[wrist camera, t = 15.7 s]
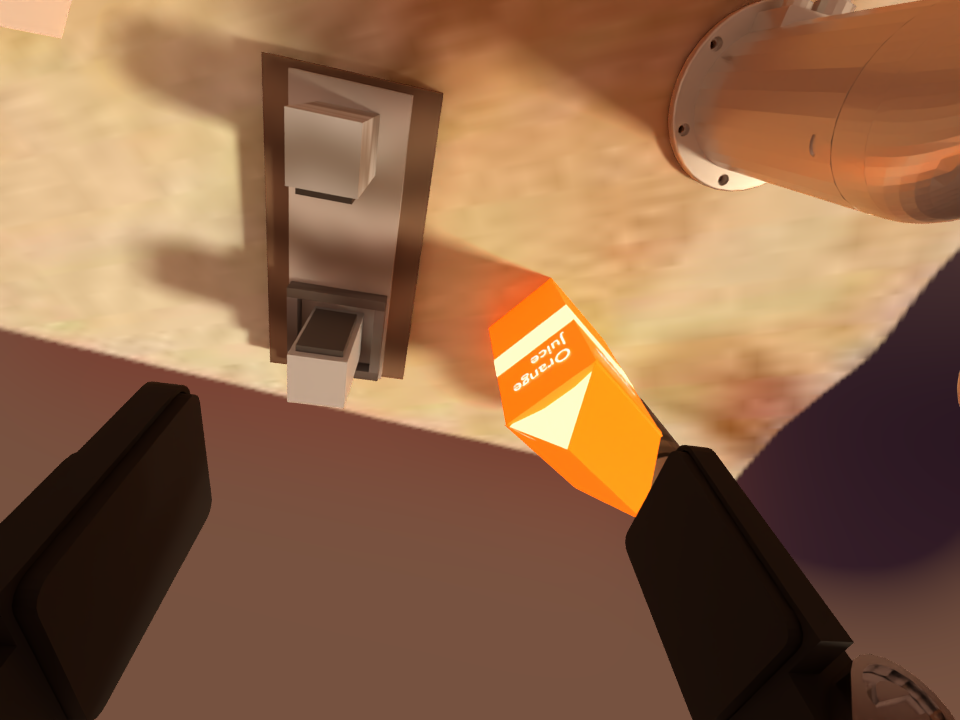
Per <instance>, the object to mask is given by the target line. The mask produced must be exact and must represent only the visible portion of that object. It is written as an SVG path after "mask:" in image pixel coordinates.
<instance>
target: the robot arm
mask: <svg viewBox="0 0 960 720" xmlns="http://www.w3.org/2000/svg"><path fill="white" fill-rule="evenodd" d="M852 1H853V0H817V1H815V2H814V4H813V2H812V1H810V0H762V1H759V2H756V3H752V4H749V5H747V6H745V7H743V8H741V9H739V10H737V11H735V12H733V13H731V14H729V15H728V16H727V17H725V18H724V19H723V20H721V21H720V22H719V23H717V24H716V25H715V26H714V27H713V28H712V29H711V30H710V31H709V32H708V33H707V34H706V35H705V36H704V37H703V38H702V39H701V40H700V41H699V43H698V44H697V45H696V47H695V48H694V50H693V51H692V52H691V54H690V55H689V56H688V58H687V60H686V62H685V64H684V66H683V68H682V70H681V71H680V73H679V75H678V78H677V81H676V84H675V87H674V89H673V92H672V97H671V102H670V107H669V119H668V130H669V137H670V143H671V147H672V149H673V152H674V155H675V157H676V159H677V161H678V162H679V164H680V165H681V167H682V169H683V170H684V171H685V172H686V173H687V174H688V175H689V176H690V177H691V178H693V179H694V180H696V181H698V182H699V183H701V184H703V185H705V186H708V187H711V188H714V189H717V190H724V191H743V190H747V189H751V188H755V187H759V186H761V185H763V184H765V183H771V184H774V185H777V186H780V187H783V188H787V189H790V190H793V191H796V192H799V193H803V194H806V195H809V196H812V197H816V198H819V199H822V200H825V201H828V202H832V203H835V204H838V205H841V206H844V207H848V208H851V209H854V210H857V211H861V212H864V213H867V214H870V215H874V216H877V217H881V218H884V219H888V220H892V221H897V222H903V223H915V224H929V223H940V222H949V221H954V220H959V219H960V0H920V1H914V2H908V3H903V4H897V5H891V6H885V7H879V8H873V9H867V10H862V11H856V12H854V10H855V8H856V6H855V5H854V4H852ZM711 41H713V47H712V48H710V44H711ZM680 126H681V127H682V129H681V131H680V132H678V129H679V127H680ZM720 176H721V177H720ZM719 177H720V180H718V179H719ZM957 391H958V402H959V405H960V373H959V378H958V386H957ZM208 473H209V472H208V464H207V456H206V448H205V440H204V432H203V424H202V416H201V408H200V401H199V398H198V396H196V395H192V394H190V391H189V389H188V388H187V387H186V386H184V385H177V384H168V383H160V382H147V383H146V384H145V385H143V386H142V387H141V388H140V389H139V390H138V391H137V392H136V393H135V394H134V395H133V396H132V397H131V398H130V399H129V400H128V401H127V402H126V403H125V404H124V405H123V406H122V407H121V408H120V409H119V410H118V411H117V412H116V413H115V415H114V416H113V417H112V418H110V419H109V421H108V422H107V423H106V424H105V425H104V426H103V427H102V428H101V429H100V430H99V431H98V432H97V433H96V434H95V435H94V436H93V437H92V438H91V439H90V440H89V441H88V442H87V443H86V444H85V445H84V446H83V447H82V448H81V449H80V450H79V451H78V452H76V453H74V454H72V455H70V456H69V457H68V458H66V459H65V460H64V461H63V462H62V463H61V464H60V465H59V466H58V467H57V468H56V469H55V470H54V471H53V472H52V473H51V474H50V475H49V476H48V477H47V478H46V479H45V480H44V481H43V482H42V483H41V484H40V485H39V486H38V487H37V488H36V489H35V490H34V491H33V492H32V493H31V494H30V495H29V496H28V497H27V498H26V499H25V500H24V501H23V502H22V503H21V504H20V505H19V506H18V507H17V508H16V509H15V510H14V511H13V512H12V513H11V514H10V515H9V516H8V517H7V518H6V519H5V520H3V521H2V522H1V523H0V720H94V719H96V718H97V716H98V715H99V714H100V713H101V712H102V710H103V708H104V707H105V705H106V703H107V702H108V700H109V698H110V696H111V694H112V692H113V690H114V689H115V687H116V685H117V683H118V681H119V680H120V678H121V676H122V674H123V672H124V670H125V668H126V667H127V665H128V663H129V661H130V659H131V657H132V656H133V654H134V652H135V650H136V648H137V646H138V645H139V643H140V641H141V639H142V637H143V635H144V633H145V632H146V630H147V628H148V626H149V624H150V622H151V621H152V619H153V617H154V615H155V613H156V611H157V610H158V608H159V606H160V604H161V602H162V600H163V598H164V597H165V595H166V593H167V591H168V589H169V587H170V586H171V584H172V582H173V580H174V578H175V576H176V574H177V573H178V571H179V569H180V567H181V565H182V563H183V562H184V560H185V558H186V556H187V554H188V552H189V551H190V549H191V547H192V545H193V543H194V541H195V539H196V538H197V536H198V534H199V532H200V530H201V528H202V527H203V525H204V523H205V521H206V519H207V517H208V515H209V512H210V508H211V502H212V498H211V489H210V481H209V474H208ZM625 544H626V550H627V553H628V555H629V558H630V561H631V563H632V566H633V568H634V571H635V573H636V576H637V578H638V581H639V584H640V586H641V589H642V591H643V594H644V597H645V599H646V602H647V604H648V607H649V609H650V612H651V615H652V617H653V620H654V622H655V625H656V627H657V630H658V633H659V635H660V638H661V640H662V643H663V645H664V648H665V651H666V653H667V655H668V658H669V661H670V663H671V666H672V668H673V671H674V674H675V676H676V679H677V681H678V684H679V686H680V689H681V692H682V694H683V697H684V699H685V702H686V704H687V707H688V710H689V712H690V714H691V717H692V719H693V720H955V719H954V717H953V715H952V714H951V712H950V711H949V709H948V708H947V707H946V706H945V705H944V704H943V702H941V700H940V699H939V698H938V697H937V695H936V694H935V693H934V692H932V690H930V689H929V688H928V687H927V686H926V685H925V684H924V683H923V682H922V681H921V680H920V679H918V678H917V677H916V676H914V675H913V674H911V673H910V672H909V671H907V670H906V669H904V668H903V667H902V666H900V665H898V664H896V663H894V662H892V661H890V660H888V659H886V658H883V657H880V656H876V655H872V654H865V655H859V656H858V657H857V658H855V659H854V660H853V661H852V660H851V659H850V658H849V656H848V655H847V653H846V652H845V650H846V649H847V648H848V647H849V646H850V645H851V644H853V641H852V639H851V638H850V637H849V635H848V634H847V632H846V631H845V630H844V628H843V627H842V626H841V625H840V623H839V622H838V620H837V619H836V617H835V616H834V615H833V613H832V612H831V611H830V609H829V608H828V606H827V605H826V604H825V603H824V601H823V600H822V598H821V597H820V596H819V594H818V593H817V591H816V590H815V589H814V587H813V586H812V585H811V583H810V582H809V580H808V579H807V578H806V576H805V575H804V574H803V572H802V571H801V570H800V568H799V567H798V565H797V564H796V563H795V561H794V560H793V559H792V557H791V556H790V554H789V553H788V552H787V550H786V549H785V548H784V546H783V545H782V544H781V542H780V541H779V539H778V538H777V537H776V535H775V534H774V533H773V531H772V530H771V529H770V527H769V526H768V524H767V523H766V522H765V520H764V519H763V518H762V516H761V515H760V513H759V512H758V511H757V509H756V508H755V507H754V505H753V504H752V503H751V501H750V500H749V498H748V497H747V496H746V494H745V493H744V492H743V490H742V489H741V488H740V486H739V485H738V483H737V482H736V481H735V479H734V478H733V476H732V475H731V474H730V472H729V471H728V470H727V468H726V467H725V466H724V464H723V463H722V461H721V460H720V459H719V457H718V456H717V455H716V453H715V452H714V451H713V450H712V449H709V448H705V447H697V446H688V445H681V446H680V447H678V448H677V450H676V451H672V452H671V453H670V454H669V455H668V457H667V459H666V461H665V463H664V465H663V467H662V468H661V470H660V472H659V474H658V476H657V478H656V480H655V482H654V483H653V485H652V487H651V489H650V491H649V493H648V495H647V497H646V498H645V500H644V502H643V504H642V506H641V508H640V510H639V511H638V513H637V515H636V517H635V519H634V521H633V523H632V525H631V526H630V528H629V530H628V532H627V535H626V540H625Z"/></svg>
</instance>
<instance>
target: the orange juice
mask: <svg viewBox="0 0 960 720" xmlns="http://www.w3.org/2000/svg"><path fill="white" fill-rule="evenodd" d="M489 333H490V339H491V344H492V350H493V356H494V365H495V370H496V376H497V378H498V383H499V389H500V394H501V400H502V405H503V411H504V416H505V422H506V425H507V426H506V425H505V426H506V427H507V428H509V429H510V430H511V431H512V432H513V433H514V434H515V435H516V436H518V437H519V438H520V439H521V440H522V441H523V442H524V443H525V444H527V445H528V446H529V447H530V448H531V449H532V450H533V451H534V452H536V453H537V454H538V455H539V456H540V457H541V458H542V459H543V460H544V461H546V462H547V463H548V464H549V465H550V466H551V467H552V468H554V469H555V470H556V471H557V472H558V473H559V474H560V475H561V476H563V477H564V478H565V479H566V480H567V481H568V482H569V483H570V484H572V485H573V486H574V487H575V488H577V489H579V490H581V491H583V492H585V493H587V494H589V495H591V496H593V497H595V498H597V499H599V500H601V501H603V502H605V503H607V504H609V505H611V506H613V507H615V508H617V509H619V510H621V511H623V512H625V513H627V514H629V515H632V516H633V517H636V515H637V513H638V511H639V510H640V508H641V506H642V504H643V502H644V500H645V498H646V497H647V495H648V493H649V491H650V489H651V484H652V479H653V474H654V469H655V464H656V459H657V454H658V448H659V443H660V438H661V437H662V436H663V435H662V434H661V433H662V432H661V431H660V430H659V428H658V427H657V426H656V424H655V422H654V421H653V419H652V418H651V416H650V414H649V413H648V411H647V409H646V408H645V406H644V405H643V403H642V401H641V400H640V398H639V396H638V395H637V393H636V392H635V390H634V387H633V386H632V384H631V383H630V381H629V379H628V378H627V376H626V375H625V373H624V371H623V370H622V369H621V367H620V366H619V364H618V363H617V361H616V359H615V358H614V356H613V354H612V353H611V351H610V350H609V348H608V346H607V345H606V343H605V341H604V340H603V339H602V337H601V336H600V335H599V334H598V333H597V331H596V330H595V329H594V328H593V327H592V326H591V324H590V323H589V322H588V321H587V320H586V318H585V317H584V316H583V315H582V314H581V313H580V311H579V310H578V309H577V308H576V307H575V305H574V304H573V303H572V302H571V301H570V299H569V298H568V297H567V296H566V295H565V294H564V292H563V291H562V290H561V289H560V288H559V286H558V285H557V284H556V283H555V282H554V281H553V279H552V278H550V279H549V280H548V281H547V282H545V283H544V284H543V285H542V286H540V287H539V288H538V289H537V290H535V291H534V292H533V293H532V294H530V295H529V296H528V297H527V298H525V299H524V300H523V301H522V302H520V303H519V304H518V305H517V306H515V307H514V308H513V309H512V310H511V311H509V312H508V313H507V314H506V315H504V316H503V317H502V318H501V319H499V320H498V321H497V322H496V323H494V324H493V325H492V326H491V327H489Z"/></svg>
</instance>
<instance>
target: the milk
mask: <svg viewBox="0 0 960 720" xmlns="http://www.w3.org/2000/svg"><path fill="white" fill-rule="evenodd" d="M71 1H72V0H0V26H1V27H6V28H11V29H16V30H21V31H27V32H32V33H37V34H42V35H47V36H52V37H57V38H62V35H63V31H64V28H65V24H66V20H67V16H68V13H69V9H70V5H71Z"/></svg>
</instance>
